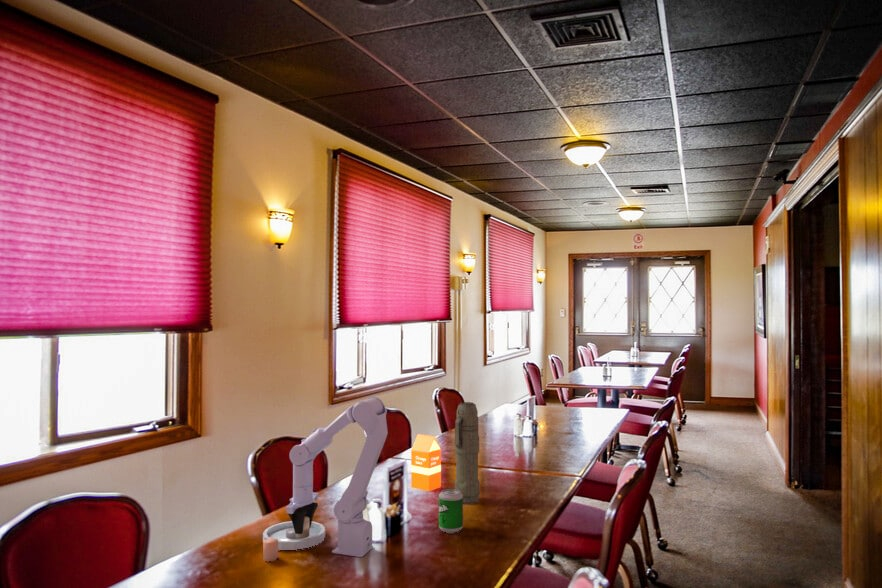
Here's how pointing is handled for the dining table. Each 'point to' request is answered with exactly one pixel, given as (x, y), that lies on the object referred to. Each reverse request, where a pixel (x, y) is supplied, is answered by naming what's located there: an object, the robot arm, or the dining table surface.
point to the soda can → (450, 510)
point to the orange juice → (426, 463)
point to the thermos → (467, 452)
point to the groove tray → (294, 536)
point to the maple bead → (304, 529)
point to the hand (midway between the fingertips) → (302, 530)
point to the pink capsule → (270, 549)
